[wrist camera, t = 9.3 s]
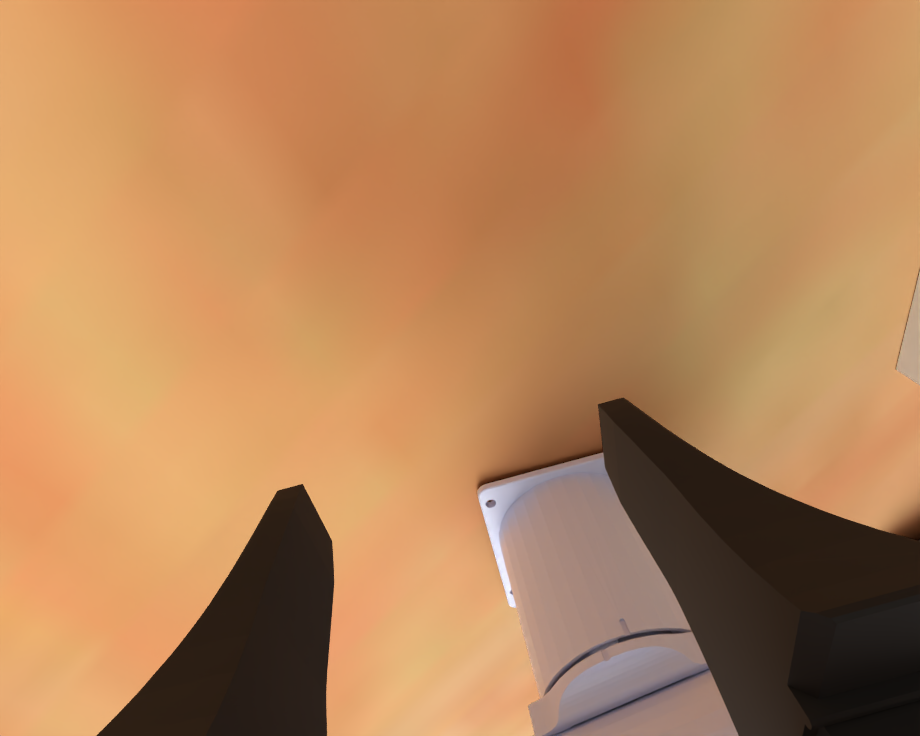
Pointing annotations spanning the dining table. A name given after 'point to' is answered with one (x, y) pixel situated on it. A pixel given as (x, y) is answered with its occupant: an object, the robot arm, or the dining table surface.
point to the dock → (911, 341)
